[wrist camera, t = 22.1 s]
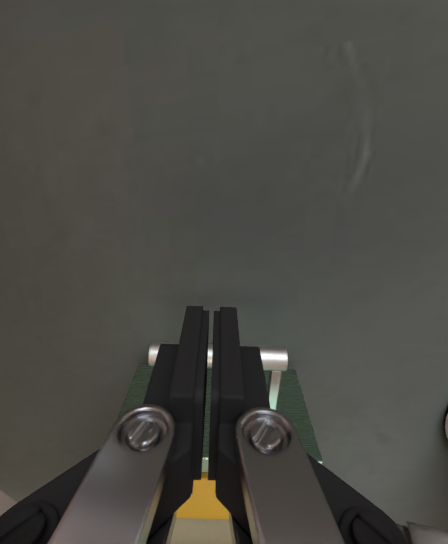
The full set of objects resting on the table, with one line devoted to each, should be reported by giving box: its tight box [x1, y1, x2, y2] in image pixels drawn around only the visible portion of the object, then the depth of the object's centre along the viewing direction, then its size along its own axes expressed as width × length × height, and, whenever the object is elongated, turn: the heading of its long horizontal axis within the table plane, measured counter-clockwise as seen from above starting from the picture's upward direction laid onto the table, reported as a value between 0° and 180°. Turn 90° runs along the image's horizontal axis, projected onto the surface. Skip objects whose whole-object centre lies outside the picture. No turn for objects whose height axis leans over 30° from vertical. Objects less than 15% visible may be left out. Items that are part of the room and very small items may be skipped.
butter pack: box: [176, 472, 229, 520], centre depth 24 cm, size 4×6×5 cm
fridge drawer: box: [119, 341, 323, 544], centre depth 23 cm, size 21×12×8 cm, turn 177°
